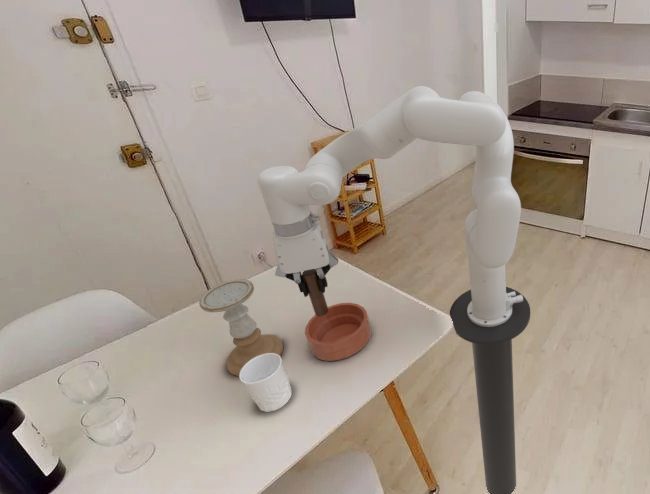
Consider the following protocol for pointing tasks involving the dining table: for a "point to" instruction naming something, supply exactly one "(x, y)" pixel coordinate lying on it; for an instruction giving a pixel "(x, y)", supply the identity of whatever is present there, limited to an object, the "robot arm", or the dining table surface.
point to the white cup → (266, 381)
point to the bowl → (338, 332)
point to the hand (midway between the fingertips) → (315, 290)
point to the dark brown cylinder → (315, 292)
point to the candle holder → (239, 323)
